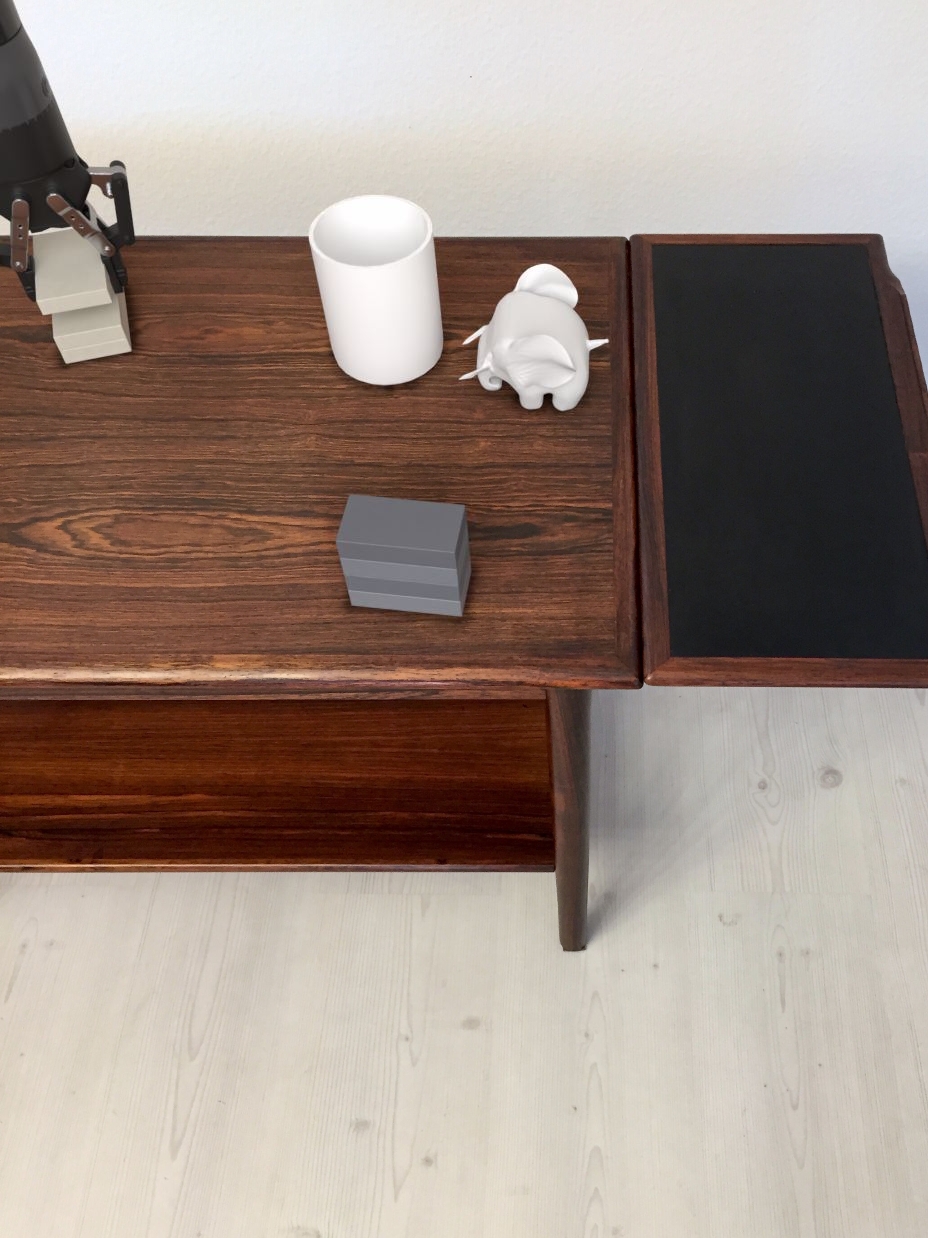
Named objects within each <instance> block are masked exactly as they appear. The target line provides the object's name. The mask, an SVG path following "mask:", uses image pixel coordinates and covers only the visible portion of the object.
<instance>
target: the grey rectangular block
mask: <svg viewBox="0 0 928 1238" xmlns="http://www.w3.org/2000/svg"><path fill="white" fill-rule="evenodd" d="M346 501H347V502H346V503H345V504H346V505H345V507H344V511H343V514H342V517H341V521H340V524H339V527H338V530H337V533H336V537H335V542H334V543H335V545H336V549H337V552H338V557H339V562H340V566H341V569H342V573H343V577H344V580H345V584H346V589H347V592H348V597H349V600H350V604H351V606H352V607H353V606H355V607H363V608H372V609H382V610H393V611H403V612H411V613H420V614H421V613H422V614H431V615H440V616H452V617H463V614H464V608H465V604H466V599H467V595H468V590H469V584H470V580H471V576H472V562H471V552H470V542H469V531H468V530H469V529H468V520H467V518H468V517H467V508H466V505H465V504H458V503H447V502H436V501H428V500H427V501H425V500H416V499H405V498H394V497H387V496H386V497H384V496H375V495H374V496H373V495H364V494H353V493H349V495H348V498H347V500H346Z"/></svg>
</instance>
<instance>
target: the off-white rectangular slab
mask: <svg viewBox="0 0 928 1238" xmlns="http://www.w3.org/2000/svg"><path fill="white" fill-rule="evenodd" d="M32 251H33V257H34V259H35V286H36V302H35V303H36V304H37V306H38V308H39V310H40V313H41V314H42V316H48V315H52V314H53V313H59V312H65V311H70V310H76V309H81V308H87V307H92V306H98V305H103V304H109V303H112V294H111V286H110V277H109V275H108V272H107V270H106V267H105V265H104V264H103V263H102V261H101V256H100V252H99V251H98V250H97V249H96V248H95V247H94V246H93V245H92V244H91V243H90V242H89V241H88V240H87V239H83V238H82V237H81V236H80V235H79V234H78V233H77V232H76V231H75V230H74V229H73V228H69V229H62V230H57V231H51V232H45V233H39V234H33V235H32Z"/></svg>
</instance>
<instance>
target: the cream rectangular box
mask: <svg viewBox="0 0 928 1238" xmlns="http://www.w3.org/2000/svg"><path fill="white" fill-rule="evenodd" d="M110 286H111V294H112V303H109V304H103V305H98V306H92V307H87V308H81V309H76V310H70V311H65V312H59V313H53V314H51V323H52V339H53V340H54V342H55V345H56V346H57V349H58V351H59V352H60V355H61V357H62V359H63V361H64V363H65V365H66V364H67V365H68V364H72V363H78V362H83V361H88V360H89V361H90V360H93V359H98V358H99V359H100V358H105V357H109V356H115V355H120V354H125V353H131V352H132V351H133V348H132V341H131V334H130V325H129V318H128V310H127V302H126V296H125V295H126V294H125V292H124V293H118V294H115V293H114V290H113V288H112V285H111V283H110ZM123 289H124V290H125V287H124V286H123Z"/></svg>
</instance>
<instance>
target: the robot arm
mask: <svg viewBox="0 0 928 1238" xmlns="http://www.w3.org/2000/svg"><path fill="white" fill-rule="evenodd" d="M42 63H43V62H42V61H41V58H40V56H39V54H38V52H37V49H36V47H35V45H34V43H33V41H32V40H31V38H30V37H29V35H28V33H27V31H26V29H25V26H24V24H23V22H22V20H21V16H20V14H19V11H18V9H17V7H16V4H15V2H14V0H0V216H1V217H2V218H4V219H5V220H7V221H8V222H9V243H1V242H0V268H8V269H11V270H13V271H14V272H15V273H16V275H17V277H18V279H19V281H20V283H21V285H22V288H23V289H24V291H25V293H26V295H27V298H28V299H29V300H30V301H31V302H32V303H37V302H36V286H35V259H34V254H29V238H30V237H29V236H30V235H29V231H30V233H31V234H37V233H42V232H45V231H47V230H49V229H66V228H71V229H74V230H75V231H76V232H77V233H78V234H79V235H80V236H81V237H82V238H83V239H87V240H88V241H89V242H90V243H91V244H92V245H93V246H94V247H95V248H96V249H97V250H98V251H99V252H100V256H101V261H102V263H103V264H104V265H105V267H106V270H107V272H108V275H109V277H110V283H111V285H112V288H113V290H114V293H115V294H118V293H125V288H124V289H123V287H124V286H128V284H129V277H128V269H127V267H126V264H125V261H124V259H123V256H122V253H121V250H120V249H121V248H122V247H124V246H126V247H131V246H133V245H135V243H136V233H135V225H134V219H133V218H134V217H133V212H132V203H131V197H130V188H129V181H128V174H127V168H126V167H127V166H126V165H125V163H124V162H123V161H121V160H119V159H115V160H112V161H111V162H110V163H109V165H108V166H89V163H87V162H86V161H85V160H84V159H82V158H81V156H80V155H79V154H78V153H77V151H76V148H75V146H74V143H73V140H72V138H71V135H70V133H69V130H68V128H67V127H68V126H66V123H65V120H64V117H63V115H62V113H61V110H60V107H59V104H58V101H57V99H56V97H55V94H54V91H53V89H52V86H51V84H50V81H49V79H48V75H47V73H46V71H45V68H44V66H43V64H42ZM92 185H93V186H94V185H95V186H97V187H98V188H99V189H100V191H101V194H102V195H103V196H104V197H106V198H108V199H109V200H113V204H114V211H115V217H116V222H115V223H113V224H110V225H108V224H107V223H106V221H104V220H103V219H102V217H100V216H99V214H98V213H97V211H96V209H95V208H94V206H93V205H92V204H91V203H90V202H89V201H88V200H87V198H88V195H89V194H90V190H91V188H92Z"/></svg>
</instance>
